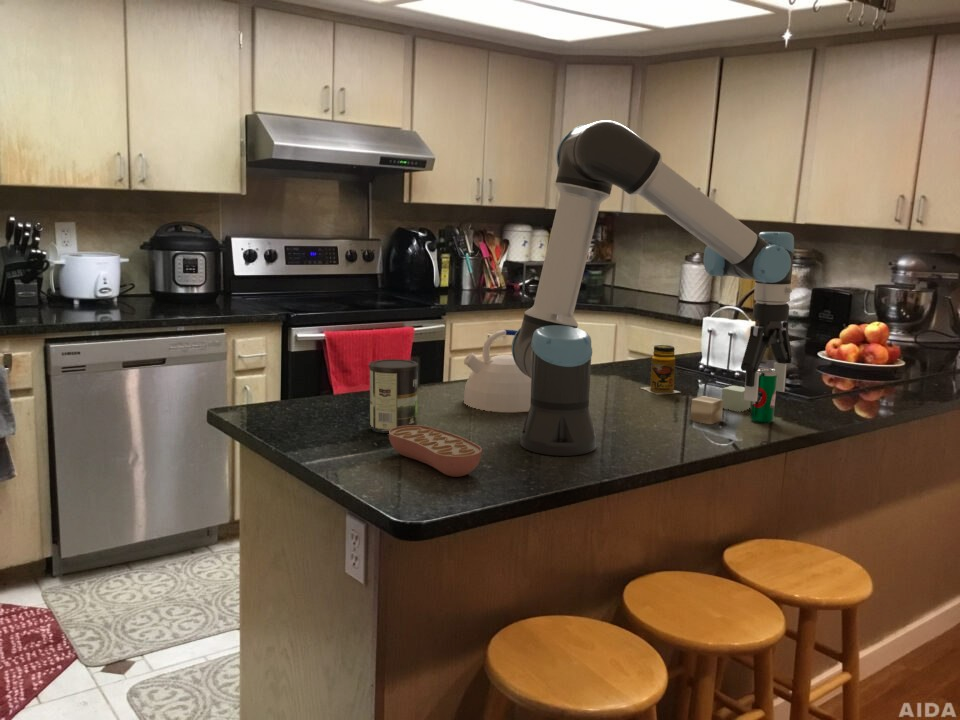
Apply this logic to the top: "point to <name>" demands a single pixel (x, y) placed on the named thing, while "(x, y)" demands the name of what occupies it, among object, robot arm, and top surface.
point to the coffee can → (393, 393)
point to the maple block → (706, 410)
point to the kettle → (496, 381)
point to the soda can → (764, 397)
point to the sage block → (734, 398)
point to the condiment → (662, 370)
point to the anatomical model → (436, 448)
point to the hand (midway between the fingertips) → (764, 395)
